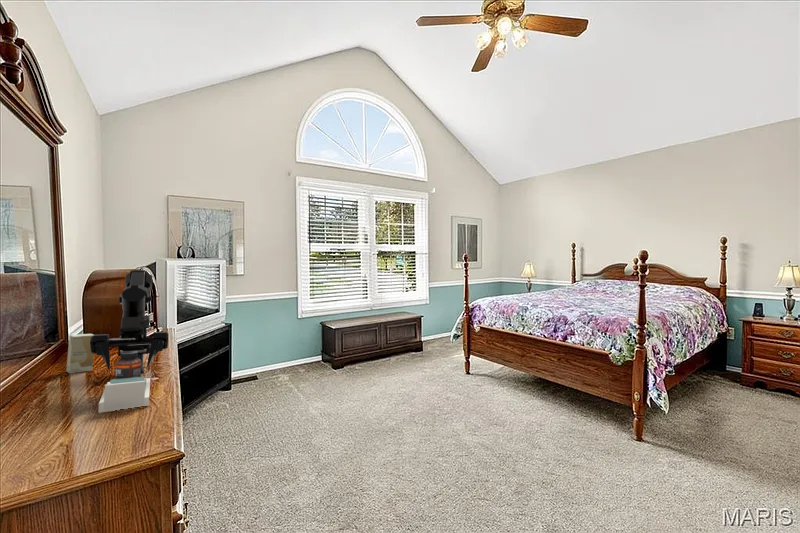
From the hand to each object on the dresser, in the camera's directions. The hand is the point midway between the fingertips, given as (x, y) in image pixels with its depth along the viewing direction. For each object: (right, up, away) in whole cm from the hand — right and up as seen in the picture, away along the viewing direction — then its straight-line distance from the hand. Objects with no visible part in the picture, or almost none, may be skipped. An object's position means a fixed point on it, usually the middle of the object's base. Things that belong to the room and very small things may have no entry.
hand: (128, 367), depth 108 cm
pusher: (+2, -8, -3) cm, 9 cm away
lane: (+1, -8, -2) cm, 8 cm away
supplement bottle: (-1, -7, +1) cm, 8 cm away
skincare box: (-31, -7, +21) cm, 38 cm away
